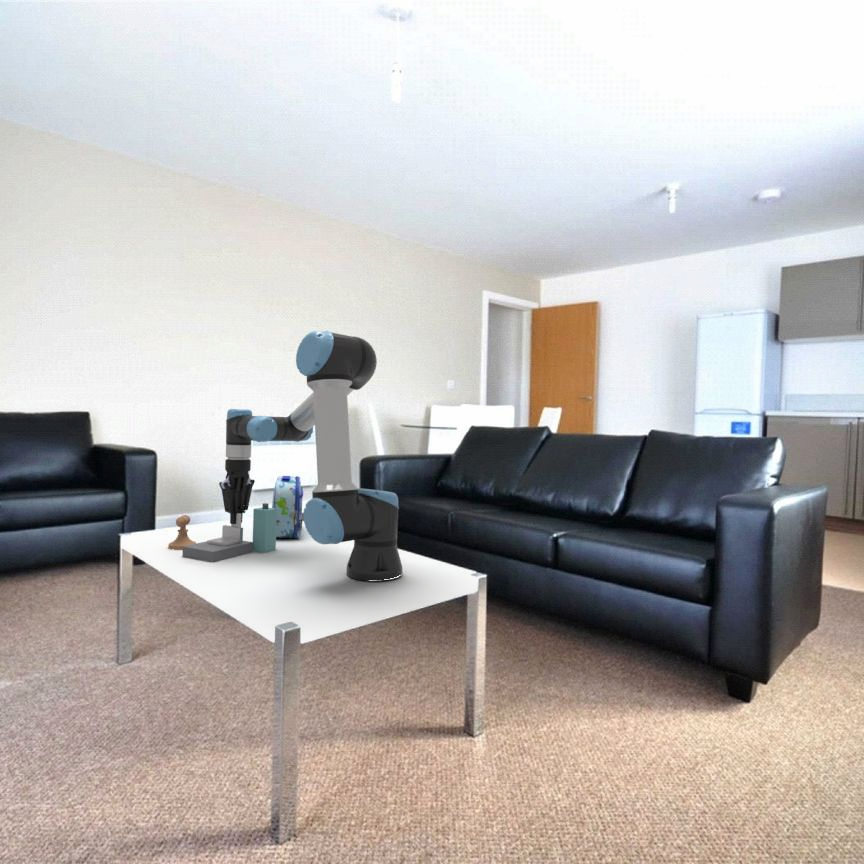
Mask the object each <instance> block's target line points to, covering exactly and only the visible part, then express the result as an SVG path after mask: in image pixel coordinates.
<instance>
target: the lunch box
mask: <svg viewBox="0 0 864 864" xmlns="http://www.w3.org/2000/svg"><path fill="white" fill-rule="evenodd" d="M301 484H302V483H301V477H300V476H298V475H297V476H293V475H282V476H281V475H278V476H277V478H276V481H275V485H274V488H273V493H272V494H273V495H272V502H271V503H272V504H271V508H276V509H277V524H276V538H279V539H283V538H288V539H293V538H294V539H296V540H298V539H299V538H300V536H301V531H303V518H302V517H303V497H304V490H303V487H302V485H301Z"/></svg>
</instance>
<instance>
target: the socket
mask: <svg viewBox="0 0 864 864" xmlns="http://www.w3.org/2000/svg"><path fill="white" fill-rule="evenodd" d="M250 553H254V552H253V541H248V540H243V542H240V543H236V544H232V545H228V546H221V545H215V544H209V543H207V541H202V542H198V543H197V542H196V544H192V545H187V546H183V550H182V556H181V557H183V558H188V559H193V560H199V561H205V562H208V563H215V562H219V561H220V562H221V561H223V560H227V559H231V558H235V557H238V556H242V555H247V554H250Z"/></svg>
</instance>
